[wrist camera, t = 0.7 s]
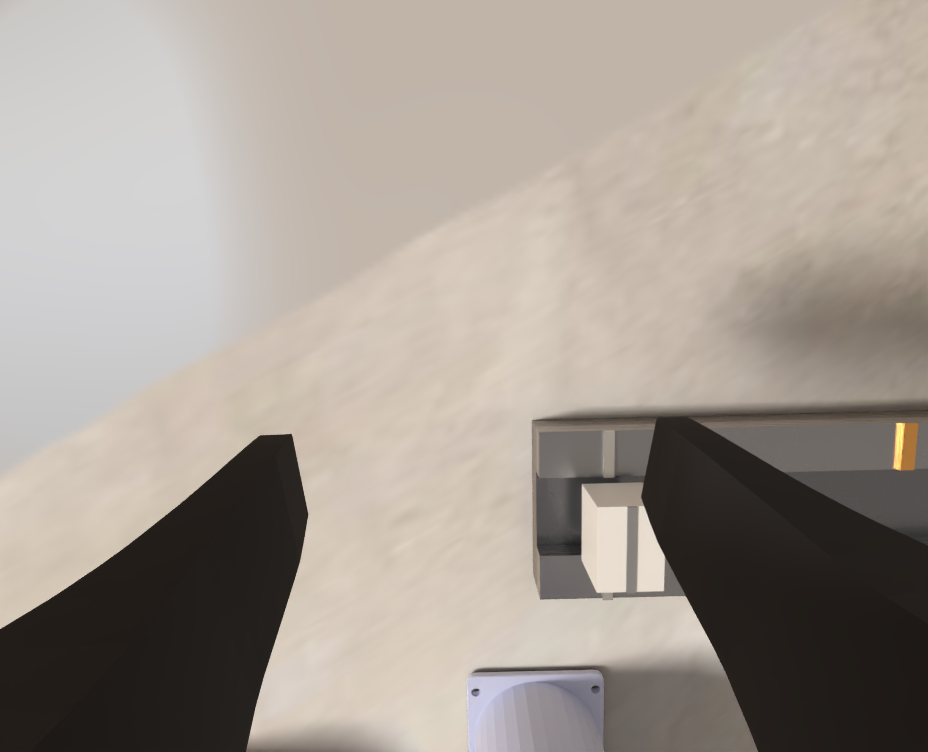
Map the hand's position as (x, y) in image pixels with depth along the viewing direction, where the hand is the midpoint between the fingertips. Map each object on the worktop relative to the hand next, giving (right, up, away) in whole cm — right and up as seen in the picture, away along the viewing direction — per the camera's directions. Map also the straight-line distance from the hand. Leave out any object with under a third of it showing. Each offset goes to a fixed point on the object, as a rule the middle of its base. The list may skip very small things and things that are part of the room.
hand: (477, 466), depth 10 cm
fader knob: (+7, -5, +17) cm, 19 cm away
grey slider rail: (+15, -5, +19) cm, 25 cm away
